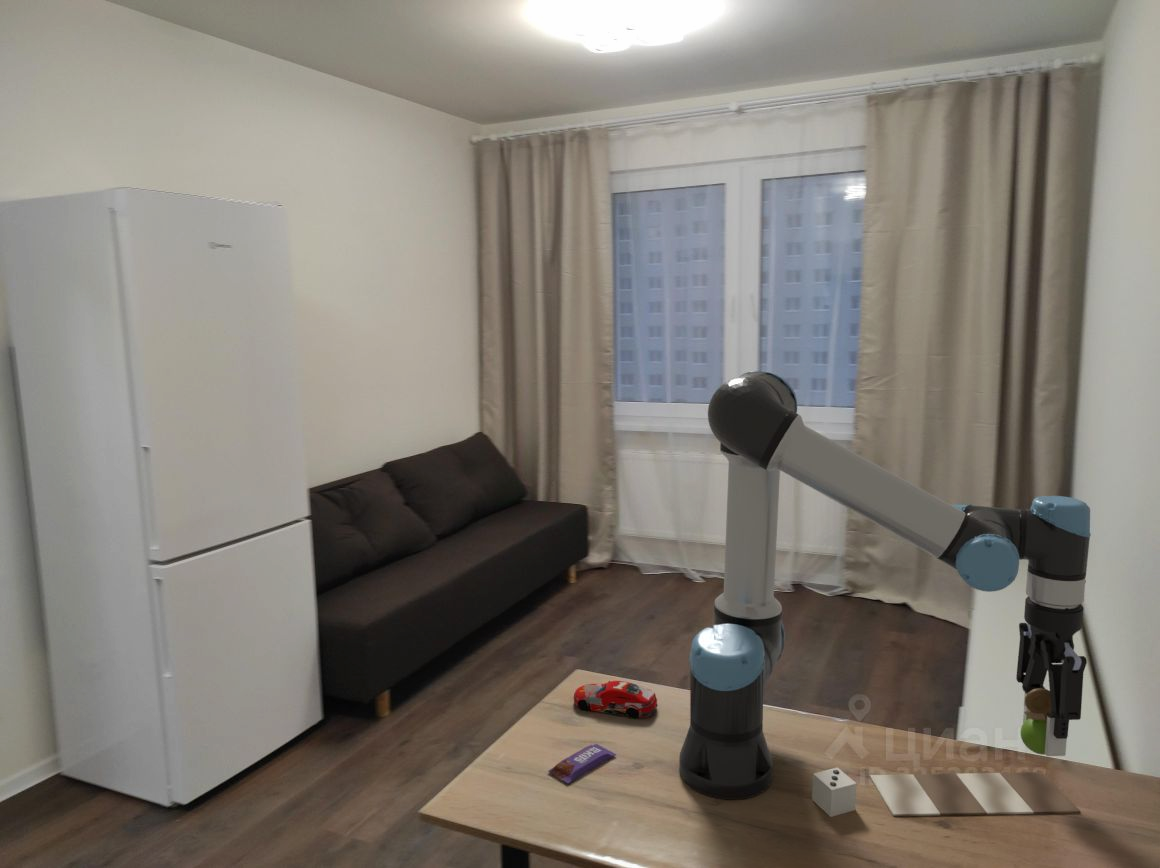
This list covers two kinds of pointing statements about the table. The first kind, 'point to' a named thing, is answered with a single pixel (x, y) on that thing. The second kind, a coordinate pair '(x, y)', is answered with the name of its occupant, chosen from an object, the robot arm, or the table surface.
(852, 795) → the die
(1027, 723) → the snail figurine
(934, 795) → the game board
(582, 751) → the snack package
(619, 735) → the table surface
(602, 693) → the race car
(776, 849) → the table surface
